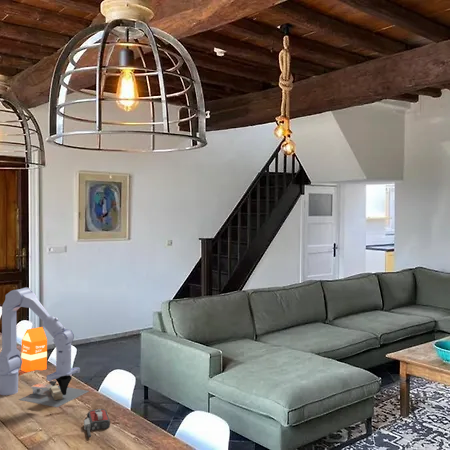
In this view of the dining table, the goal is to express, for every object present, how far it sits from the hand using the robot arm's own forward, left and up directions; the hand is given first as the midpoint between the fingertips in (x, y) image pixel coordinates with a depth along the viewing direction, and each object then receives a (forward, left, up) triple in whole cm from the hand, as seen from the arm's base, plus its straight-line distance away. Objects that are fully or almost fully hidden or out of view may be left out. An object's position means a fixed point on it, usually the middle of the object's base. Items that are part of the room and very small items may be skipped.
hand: (63, 394), depth 202 cm
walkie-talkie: (+28, -16, -3) cm, 32 cm away
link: (-5, +1, -1) cm, 5 cm away
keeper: (-10, -1, -1) cm, 10 cm away
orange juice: (-39, +26, -2) cm, 47 cm away
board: (-5, 0, -2) cm, 5 cm away
